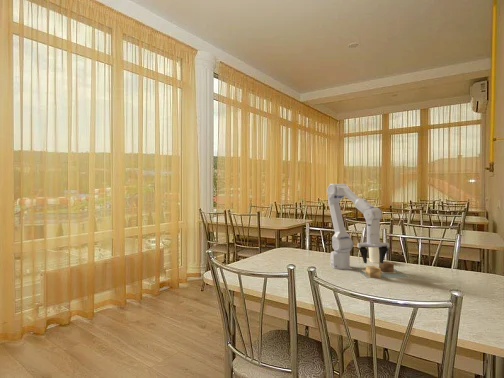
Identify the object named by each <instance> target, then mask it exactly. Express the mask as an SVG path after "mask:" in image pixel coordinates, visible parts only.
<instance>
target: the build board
mask: <svg viewBox="0 0 504 378" xmlns="http://www.w3.org/2000/svg"><path fill="white" fill-rule="evenodd" d="M356 271H357V272H358V273H360V274H361V275H363V276H364V277H365V278H366V279H371V278H370V277H368V276H367V275H366V269H356ZM401 278H403V279H404V278H406V279H407V278H411V277H410V276H409V275H406V274H405V273H403V272H402V271H399V270H398V269H396V268H394V272H382V271H381V277H376V278H375V279H401Z"/></svg>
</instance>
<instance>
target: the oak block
mask: <svg viewBox="0 0 504 378" xmlns="http://www.w3.org/2000/svg"><path fill="white" fill-rule="evenodd" d="M365 270H366V275H367V276H368V277H370V278H369V279H377V278H376V277H381V269H380V268H379V266H376V265H368V266H367V265H365Z"/></svg>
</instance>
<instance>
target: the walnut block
mask: <svg viewBox="0 0 504 378" xmlns="http://www.w3.org/2000/svg"><path fill="white" fill-rule="evenodd" d="M378 267H379V268H380V269H381V271H382V272H394V269H395V268H394V267H395V265H394V263H392V262H391V261H383V263H380V262H379V263H378Z"/></svg>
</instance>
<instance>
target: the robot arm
mask: <svg viewBox="0 0 504 378" xmlns="http://www.w3.org/2000/svg"><path fill="white" fill-rule="evenodd" d="M326 194H327V202H328V203H327V204H328V207H329V211H330V213H329V214H330V217H331V221H332V226H333V231H334V234H333V235H332V237H331V246H332V249H333V251H330V257H329V259H330V264H329V267H331V268H332V269H333V270H353V268H352V267H351V265H350V263H351V259H350V258H351V255H350V253H351V250H352V249H353V248H354V241H353V240H352V238H351V236H350V234H349V233H348V232H347V231H346V228H345V224H344V220H343V219H344V218H343V215H342V211H341V205H340V202H341V201H342V199H344V198H347V200H349V201H351V202H352V203H353V204H354V207H355V209H356V210H358V211H359V212H360V213H362V215H363V217H364V219H365V223H366V242H365V241H364V242H357V244H356V247H357V248H358V250H359V251H360V252H359V253H360V254H361V256H362V260H363V264H367V263H368V258H367V257H368V252H369V249H368V248H369V247H378V248H379V261H380V263H383V262H384V260H385V256H387V253H388V252H389V248H390V243H389V242H381V239H380V235H381V231H380V229H381V227H380V225H381V224H380V222H381V219H382V218H383V211H382V210H381V209H380V208H379V207H375V206H374V205H373V204H371V203H369V201H368V199H366V198H364V197H363V198H360V197H359V196H358V195H357V194H356V193H355V192H354V191H353V190H351V189H350V186H348V185H347V184H346V183H329V185H328V186H327V188H326Z"/></svg>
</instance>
